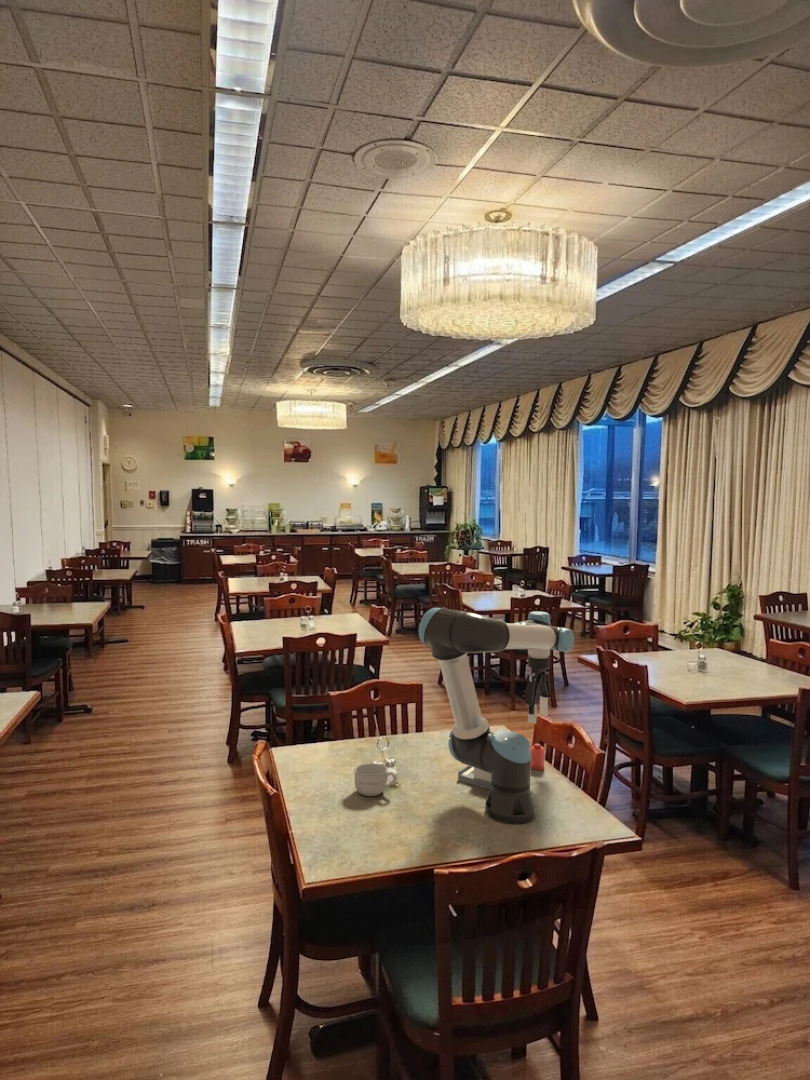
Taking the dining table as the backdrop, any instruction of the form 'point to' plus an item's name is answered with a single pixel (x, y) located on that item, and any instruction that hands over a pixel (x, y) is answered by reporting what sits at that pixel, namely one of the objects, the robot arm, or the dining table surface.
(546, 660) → the robot arm
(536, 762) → the red cylinder with knob
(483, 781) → the panel
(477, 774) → the cream square open box
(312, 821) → the dining table surface
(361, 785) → the teacup
